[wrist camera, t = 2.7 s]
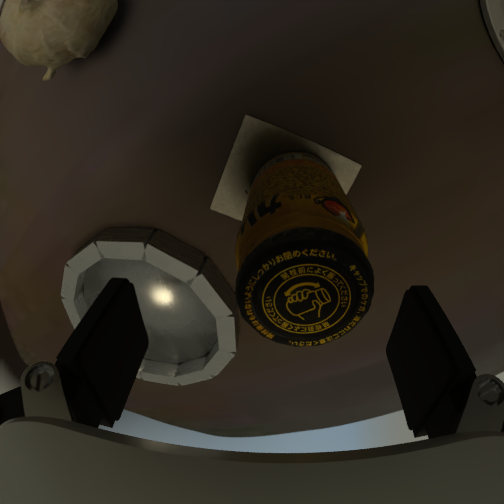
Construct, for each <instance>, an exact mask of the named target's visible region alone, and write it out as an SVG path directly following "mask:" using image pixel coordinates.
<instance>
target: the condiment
mask: <svg viewBox="0 0 504 504" xmlns="http://www.w3.org/2000/svg"><path fill="white" fill-rule="evenodd" d="M281 148H284V149H283V150H282V149H281ZM360 168H361V165H359V164H357V163H355V162H354V161H352V160H350V159H348V158H346V157H344V156H342V155H340V154H338V153H335V152H333V151H331V150H329V149H327V148H325V147H323V146H321V145H318V144H316V143H314V142H312V141H309V140H307V139H305V138H303V137H300V136H298V135H295V134H293V133H291V132H289V131H286V130H284V129H282V128H279V127H277V126H275V125H272V124H269V123H267V122H264V121H261V120H259V119H256V118H254V117H251V116H248V115H245V118H244V120H243V122H242V126H241V128H240V130H239V133H238V135H237V138H236V141H235V143H234V146H233V148H232V151H231V154H230V156H229V159H228V161H227V164H226V167H225V169H224V172H223V175H222V177H221V180H220V183H219V185H218V188H217V191H216V194H215V196H214V199H213V202H212V205H211V207H210V209H212V210H214V211H217V212H219V213H222V214H224V215H228V216H230V217H232V218H234V219H237V220H241V224H240V229H239V231H238V235H237V242H236V249H235V257H236V265H237V269H238V275H237V278H236V288H235V291H236V292H235V294H236V295H237V296H236V300H237V303H238V306H239V309H240V312H241V315H242V317H243V319H244V320H245V321H246V322H247V323H249V324H250V325H251V326H252V327H253V328H254V329H255V330H256V331H257V332H259V334H260V335H262V336H263V337H266V338H268V339H270V340H272V341H274V342H278V343H282V344H286V345H292V346H317V345H322V344H325V343H328V342H330V341H333V340H335V339H338V338H340V337H342V336H343V335H345V334H346V333H348V332H350V331H351V330H352V329H353V328H354V327H355V326H356V325H357V324H358V322H359V321H360V320H361V319H362V318H363V316H364V315H365V314H366V313H367V312H368V310H369V307H370V305H371V300H372V297H373V294H374V275H373V269H372V267H371V264H370V262H369V260H368V241H367V237H366V234H365V231H364V228H363V226H362V224H361V222H360V220H359V218H358V216H357V215H356V212H355V211H354V208H353V207H352V205H351V203H350V201H349V199H348V197H347V196H346V194H347V192H348V191H349V189H350V187H351V185H352V184H353V182H354V180H355V178H356V176H357V174H358V172H359V170H360ZM245 189H246V190H247V191H248V194H246V192H245Z"/></svg>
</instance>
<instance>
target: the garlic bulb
mask: <svg viewBox="0 0 504 504" xmlns="http://www.w3.org/2000/svg"><path fill="white" fill-rule="evenodd" d="M117 8H118V3H117V0H6V2H5V4H4V7H3V9H2V13H1V17H0V38H1V41H2V43H3V45H4V47H5V48H6V49H7V50H8V51H9V53H11V54H12V55H13V56H14V57H15V58H16V59H17V60H18V61H19V62H21V63H23V64H24V65H27V66H38V65H43V66H46V67H48V71H47V73H46V74H45V75H44V77H43V80H50V79H52V78H53V77H54V75H55V73H56V69H57V68H59V67H61V66H64V65H66V64H68V63H69V62H70V61H72V60H73V59H75V58H79V57H80V58H86V57H88V56H89V54H90V52H92V51H94V50H95V48H96V47H97V45H98V42H99V40H100V39H101V37H102V36H103V34H104V33H105V31H106V29H107V27H108V26H109V24H110V22H111V20H112V19H113V17H114V15H115V13H116V11H117Z"/></svg>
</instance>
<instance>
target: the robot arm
mask: <svg viewBox="0 0 504 504" xmlns="http://www.w3.org/2000/svg"><path fill="white" fill-rule="evenodd" d="M480 5H481V9H482V13H483V17H484V20H485V23H486V26H487V28H488V31H489V34H490V36H491V38H492V40H493V42H494V45H495V47H496V49H497V50H498V52H499V54H500V56H501V58H502V59H503V61H504V0H480ZM148 345H149V339H148V335H147V332H146V328H145V325H144V321H143V318H142V314H141V311H140V307H139V303H138V299H137V295H136V291H135V287H134V284H133V283H130V281H129V280H128V279H127V278H117V277H113V278H111V279H110V280H109V281H108V283H107V284H106V285H105V287H104V288H103V290H102V291H101V292H100V294H99V295H98V297H97V298H96V299H95V301H94V302H93V304H92V305H91V306H90V308H89V309H88V311H87V312H86V314H85V315H84V316H83V318H82V319H81V321H80V322H79V324H78V325H77V327H76V328H75V330H74V331H73V333H72V334H71V336H70V337H69V339H68V340H67V342H66V343H65V345H64V346H63V348H62V350H61V351H60V353H59V354H58V356H57V357H56V358H57V361H56V363H55V365H54V364H53V363H51V362H49V361H40V362H36V363H34V364H32V365H31V366H29V367H28V368H27V369H26V370H25V372H24V373H23V375H22V378H21V386H20V387H17V388H15V389H13V390H10V391H8V392H5V393H3V394H1V395H0V504H504V383H503V382H502V381H501V380H500V379H499V378H497V377H496V376H493V375H490V374H483V375H480V376H478V377H477V376H476V374H475V371H476V369H475V367H474V365H473V363H472V361H471V359H470V357H469V356H468V354H467V352H466V350H465V348H464V346H463V344H462V343H461V341H460V339H459V337H458V335H457V334H456V332H455V330H454V328H453V327H452V325H451V323H450V322H449V320H448V318H447V316H446V315H445V313H444V311H443V310H442V308H441V307H440V305H439V303H438V302H437V300H436V298H435V297H434V295H433V294H432V292H431V291H430V289H429V287H428V286H411V287H410V289H409V290H406V292H405V294H404V297H403V300H402V303H401V306H400V309H399V312H398V315H397V318H396V321H395V324H394V327H393V330H392V333H391V335H390V338H389V341H388V344H387V347H386V354H387V358H388V361H389V364H390V367H391V370H392V373H393V377H394V380H395V383H396V386H397V390H398V393H399V396H400V400H401V403H402V407H403V410H404V414H405V417H406V421H407V425H408V427H409V429H410V430H413V433H414V437H415V438H416V437H421V436H425V435H428V438H429V439H426V440H421V441H415V442H410V443H404V444H398V445H391V446H384V447H377V448H369V449H360V450H350V451H337V452H320V453H252V452H236V451H223V450H213V449H204V448H196V447H188V446H181V445H174V444H168V443H163V442H157V441H152V440H147V439H142V438H137V437H133V436H128V435H124V434H119V433H115V432H111V431H107V430H103V429H99V428H98V427H99V424H100V425H104V426H107V427H111V428H112V427H113V424H114V422H115V420H116V421H118V420H119V419H120V417H121V414H122V411H123V409H124V406H125V404H126V401H127V398H128V396H129V393H130V391H131V388H132V386H133V383H134V381H135V378H136V376H137V373H138V371H139V368H140V366H141V363H142V361H143V359H144V356H145V354H146V351H147V349H148Z"/></svg>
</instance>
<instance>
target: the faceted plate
mask: <svg viewBox="0 0 504 504" xmlns="http://www.w3.org/2000/svg"><path fill="white" fill-rule="evenodd" d="M204 256H205V254H204V253H202V252H200V251H198V250H196V249H195V248H193V247H191V246H189V245H187V244H185V243H183V242H181V241H180V240H178V239H176V238H174V237H172V236H170V235H168V234H167V233H165V232H163V231H161V230H159V229H158V231H157V232H156V233H155V228H109V229H106V230H104V231H103V232H102V233H100V234H99V235H98V236H96V237H95V238H94V239H92V240H91V241H90V242H88V243H87V244H86V245H84V246H83V247H82V248H81V249H79V250H78V251H77V252H76V253H75V254H74V255H73V256H72V257H71V259H70V260H69V261H68V262H67V264H66V265H65V269H64V276H63V283H62V291H61V296H62V298H61V299H62V301H63V304H64V306H65V309H66V311H67V313H68V316H69V318H70V320H71V323H72V325H73V327H74V329H75V328H76V327H77V325H78V324H79V322H80V321H81V319H82V318H83V316H84V315H85V314H86V312H87V311H88V309H89V308H90V306H91V305H92V304H93V302H94V301H95V299H96V298H97V297H98V295H99V294H100V292H101V291H102V290H103V288H104V287H105V285H106V284H107V283H108V281H109V280H110V279H111V278H113V277H117V278H127V279H128V280H129V281H130V283H133V284H134V287H135V291H136V295H137V299H138V303H139V307H140V311H141V314H142V318H143V321H144V325H145V328H146V332H147V335H148V339H149V345H148V349H147V351H146V354H145V356H144V359H143V361H142V363H141V366H140V368H139V371H138V373H137V376H136V377H137V378H139V379H140V378H141V377H142V380H146V381H151V382H157V383H163V384H170V385H177V386H179V384H180V385H181V386H183V385H187V384H191V383H195V382H200V381H204V380H208V379H212V378H214V376H215V377H216V376H217V375H218V374H219V373H220V371H221V370H222V369H223V368H224V367H225V366H226V365H227V364H228V362H229V361H230V360H231V359H232V358H233V357H234V356H235V354H236V351H237V345H238V339H239V314H238V303H237V300H236V296H237V295H236V294H235V292H234V291H233V290H232V288H231V287H230V286H229V284H228V283H227V282H226V280H225V279H224V277H223V276H222V275H221V273H220V272H219V271H218V269H217V268H216V266H215V265H214V264H213V262H212V261H211V260H210V258H209V257H208V258H206V259H204ZM203 259H204V260H203Z"/></svg>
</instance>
